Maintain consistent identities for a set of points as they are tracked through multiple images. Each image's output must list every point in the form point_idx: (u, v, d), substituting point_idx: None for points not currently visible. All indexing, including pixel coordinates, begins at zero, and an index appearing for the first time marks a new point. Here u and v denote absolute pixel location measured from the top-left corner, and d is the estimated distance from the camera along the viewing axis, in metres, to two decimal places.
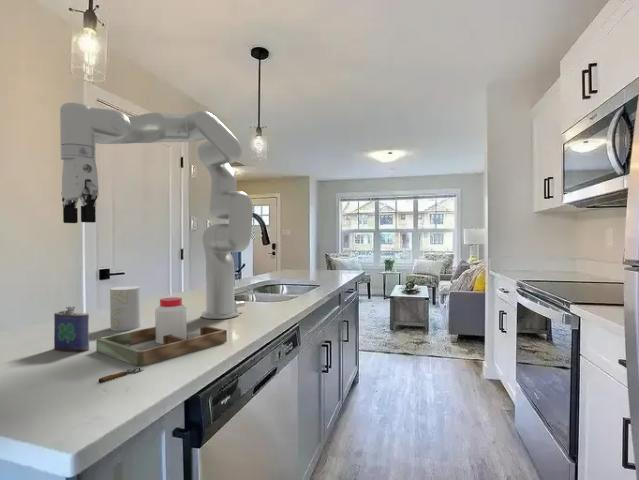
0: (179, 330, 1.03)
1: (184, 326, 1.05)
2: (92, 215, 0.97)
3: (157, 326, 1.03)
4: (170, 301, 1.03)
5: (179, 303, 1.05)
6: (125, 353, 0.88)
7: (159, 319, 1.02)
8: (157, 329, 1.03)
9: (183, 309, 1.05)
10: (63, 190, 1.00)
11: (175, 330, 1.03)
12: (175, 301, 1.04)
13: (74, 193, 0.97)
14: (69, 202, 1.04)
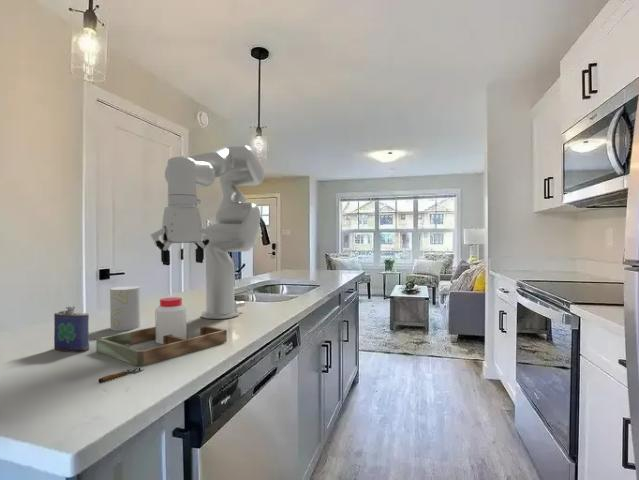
0: (179, 330, 1.03)
1: (184, 326, 1.05)
2: None
3: (157, 326, 1.03)
4: (170, 301, 1.03)
5: (179, 303, 1.05)
6: (125, 353, 0.88)
7: (159, 319, 1.02)
8: (157, 329, 1.03)
9: (183, 309, 1.05)
10: (174, 234, 1.07)
11: (175, 330, 1.03)
12: (175, 301, 1.04)
13: (194, 238, 1.11)
14: None
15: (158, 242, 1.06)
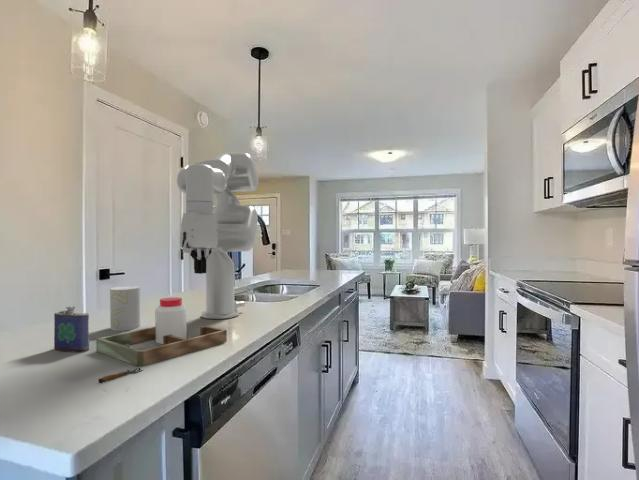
0: (179, 330, 1.03)
1: (184, 326, 1.05)
2: None
3: (157, 326, 1.03)
4: (170, 301, 1.03)
5: (179, 303, 1.05)
6: (125, 353, 0.88)
7: (159, 319, 1.02)
8: (157, 329, 1.03)
9: (183, 309, 1.05)
10: (194, 240, 1.09)
11: (175, 330, 1.03)
12: (175, 301, 1.04)
13: (211, 243, 1.14)
14: None
15: (193, 252, 1.10)
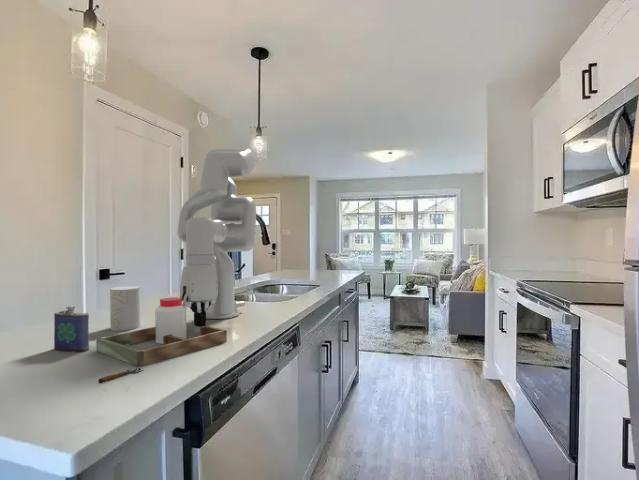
0: (179, 330, 1.03)
1: (184, 326, 1.05)
2: None
3: (157, 326, 1.03)
4: (170, 301, 1.03)
5: (179, 303, 1.05)
6: (125, 353, 0.88)
7: (159, 319, 1.02)
8: (157, 329, 1.03)
9: (183, 309, 1.05)
10: (194, 294, 1.09)
11: (175, 330, 1.03)
12: (175, 301, 1.04)
13: (211, 296, 1.13)
14: None
15: (193, 305, 1.10)
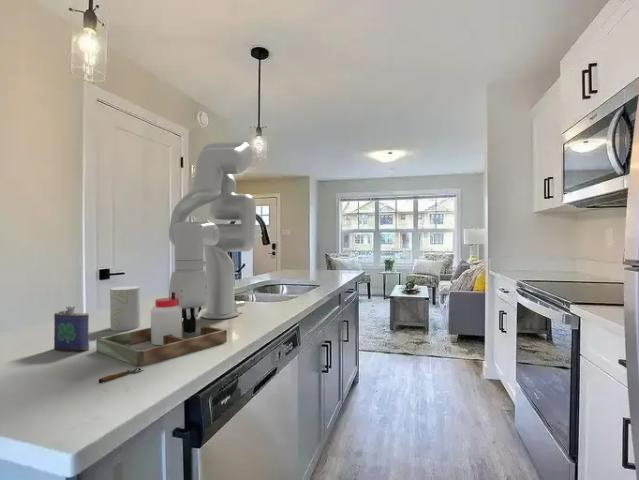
0: (175, 331, 1.02)
1: (180, 327, 1.04)
2: None
3: (152, 327, 1.02)
4: (165, 301, 1.02)
5: (175, 303, 1.04)
6: (125, 353, 0.88)
7: (154, 320, 1.01)
8: (152, 330, 1.02)
9: (179, 310, 1.04)
10: (183, 300, 1.06)
11: (171, 331, 1.02)
12: (171, 301, 1.03)
13: (201, 301, 1.11)
14: None
15: (182, 312, 1.07)
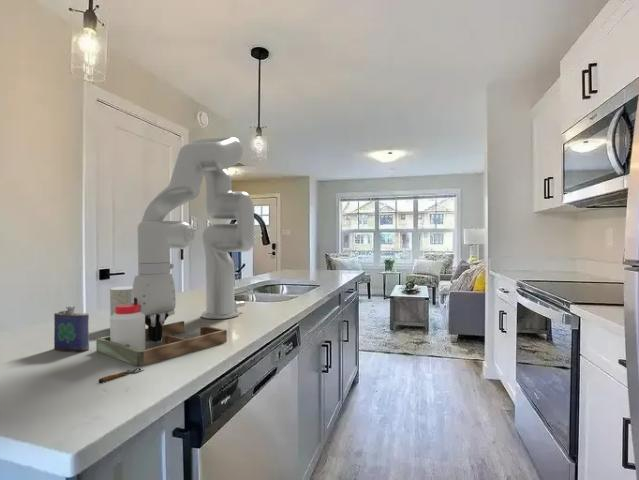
0: (136, 340, 0.94)
1: (142, 335, 0.96)
2: None
3: (111, 335, 0.93)
4: (126, 308, 0.94)
5: (136, 310, 0.96)
6: (125, 353, 0.88)
7: (113, 328, 0.93)
8: (111, 339, 0.93)
9: (141, 316, 0.95)
10: (147, 307, 0.98)
11: (131, 340, 0.93)
12: (131, 308, 0.94)
13: (167, 307, 1.03)
14: None
15: (146, 319, 0.99)
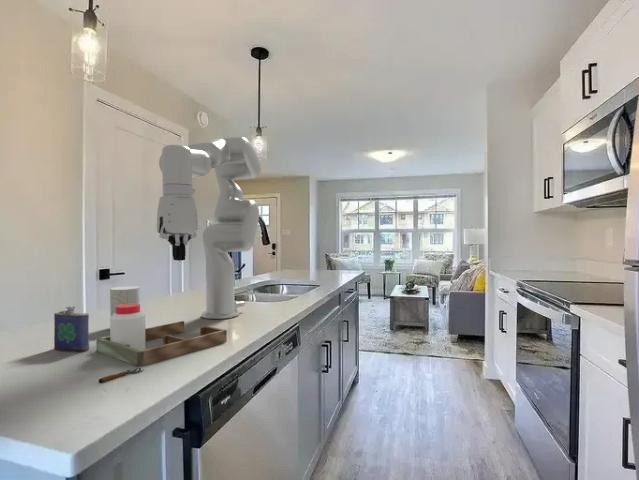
0: (136, 340, 0.94)
1: (142, 335, 0.96)
2: None
3: (111, 335, 0.93)
4: (126, 308, 0.94)
5: (136, 310, 0.96)
6: (125, 353, 0.88)
7: (113, 328, 0.93)
8: (111, 339, 0.93)
9: (141, 317, 0.95)
10: (172, 225, 1.04)
11: (131, 340, 0.93)
12: (131, 308, 0.94)
13: (190, 229, 1.08)
14: None
15: (171, 237, 1.05)
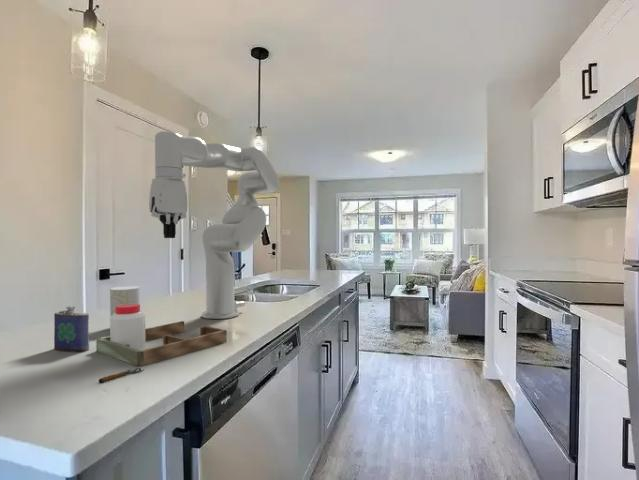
0: (136, 340, 0.94)
1: (142, 335, 0.96)
2: None
3: (111, 335, 0.93)
4: (126, 308, 0.94)
5: (136, 310, 0.96)
6: (125, 353, 0.88)
7: (113, 328, 0.93)
8: (111, 339, 0.93)
9: (141, 316, 0.95)
10: (163, 204, 1.12)
11: (131, 340, 0.93)
12: (131, 308, 0.94)
13: (180, 209, 1.17)
14: None
15: (162, 216, 1.14)
